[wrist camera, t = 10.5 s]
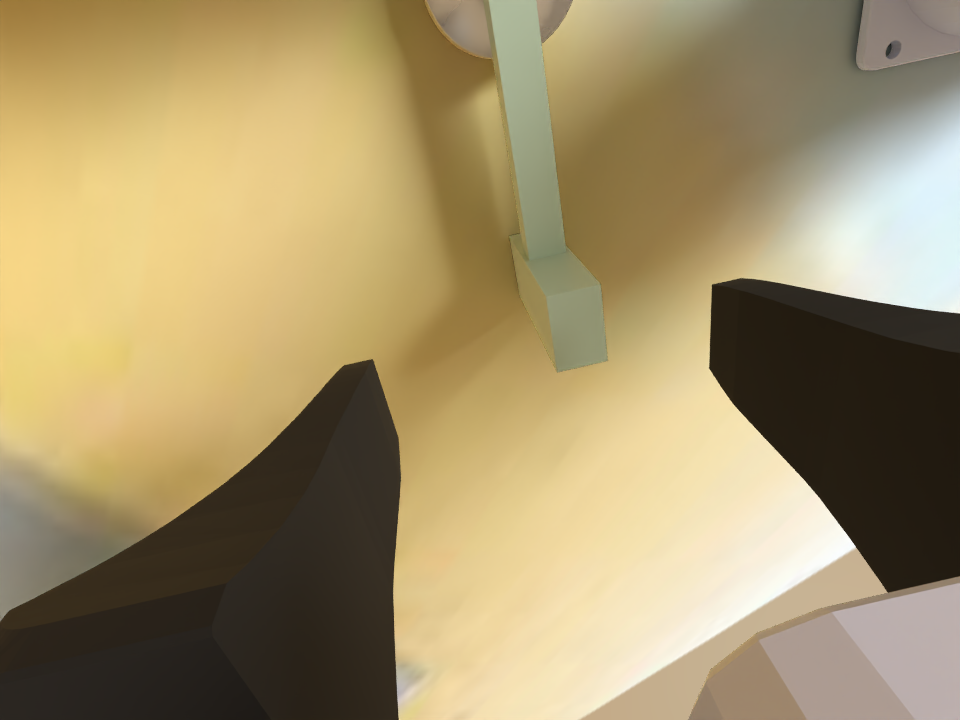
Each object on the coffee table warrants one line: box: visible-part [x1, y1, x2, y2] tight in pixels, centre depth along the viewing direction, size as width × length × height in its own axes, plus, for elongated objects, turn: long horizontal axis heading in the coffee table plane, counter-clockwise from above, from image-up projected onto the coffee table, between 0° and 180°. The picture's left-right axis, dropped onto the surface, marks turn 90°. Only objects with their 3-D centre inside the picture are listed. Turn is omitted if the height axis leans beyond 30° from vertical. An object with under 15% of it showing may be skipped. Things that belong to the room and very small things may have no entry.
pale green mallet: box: [483, 0, 608, 372], centre depth 15 cm, size 4×13×6 cm, turn 11°
